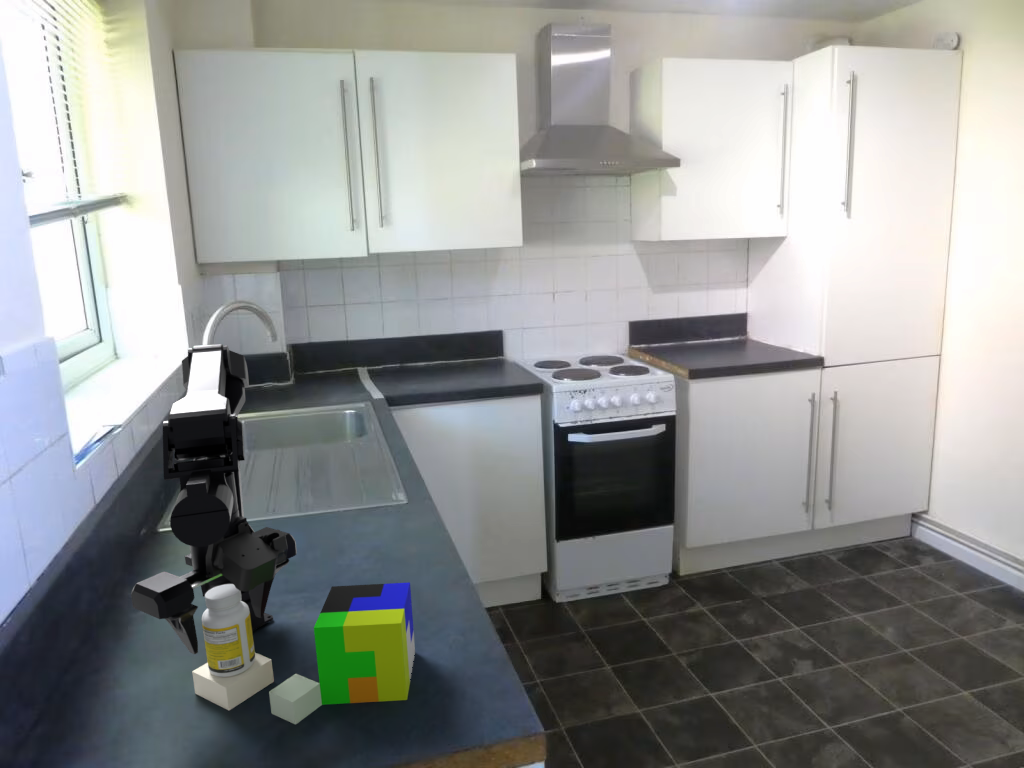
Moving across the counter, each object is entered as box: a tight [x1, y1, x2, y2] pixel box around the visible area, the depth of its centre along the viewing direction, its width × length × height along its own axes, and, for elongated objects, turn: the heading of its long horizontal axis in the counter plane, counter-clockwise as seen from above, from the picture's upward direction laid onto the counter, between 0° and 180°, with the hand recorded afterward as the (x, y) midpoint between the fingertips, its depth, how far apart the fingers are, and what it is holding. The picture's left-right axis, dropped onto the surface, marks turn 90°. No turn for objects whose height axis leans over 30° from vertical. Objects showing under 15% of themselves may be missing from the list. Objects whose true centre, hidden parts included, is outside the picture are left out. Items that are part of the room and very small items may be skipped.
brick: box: [268, 673, 323, 725], centre depth 85 cm, size 4×4×3 cm
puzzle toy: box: [313, 581, 416, 706], centre depth 90 cm, size 10×10×10 cm
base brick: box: [191, 652, 275, 711], centre depth 89 cm, size 6×6×3 cm
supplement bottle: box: [201, 584, 256, 677], centre depth 88 cm, size 5×5×10 cm
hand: (228, 634), depth 88 cm, fingers open, 9 cm apart
